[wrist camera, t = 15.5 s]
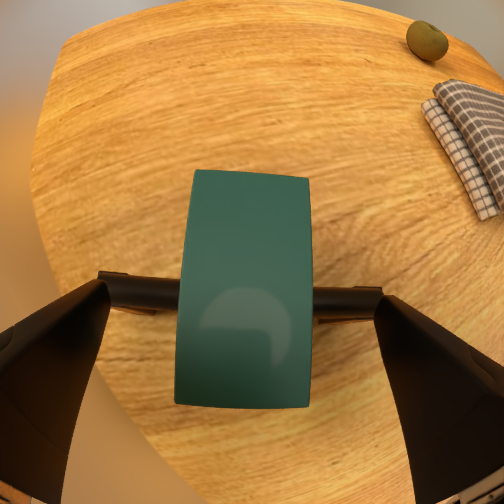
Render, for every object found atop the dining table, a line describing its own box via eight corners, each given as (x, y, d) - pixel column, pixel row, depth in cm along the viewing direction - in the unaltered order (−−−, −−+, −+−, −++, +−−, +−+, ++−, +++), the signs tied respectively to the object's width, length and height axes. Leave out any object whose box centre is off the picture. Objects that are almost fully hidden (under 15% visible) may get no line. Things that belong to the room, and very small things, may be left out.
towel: (408, 112, 24) (441, 67, 17) (474, 116, 27) (499, 87, 20) (477, 231, 20) (530, 201, 13) (522, 200, 24) (555, 178, 16)
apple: (395, 46, 30) (410, 17, 23) (405, 40, 32) (419, 14, 25) (433, 73, 29) (451, 45, 22) (438, 63, 31) (454, 39, 25)
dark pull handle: (341, 324, 17) (391, 317, 11) (131, 313, 16) (86, 301, 10) (341, 300, 17) (389, 283, 12) (133, 289, 16) (91, 266, 11)
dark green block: (268, 371, 15) (310, 407, 7) (201, 368, 15) (173, 404, 7) (272, 249, 17) (309, 177, 9) (208, 245, 17) (194, 168, 9)
